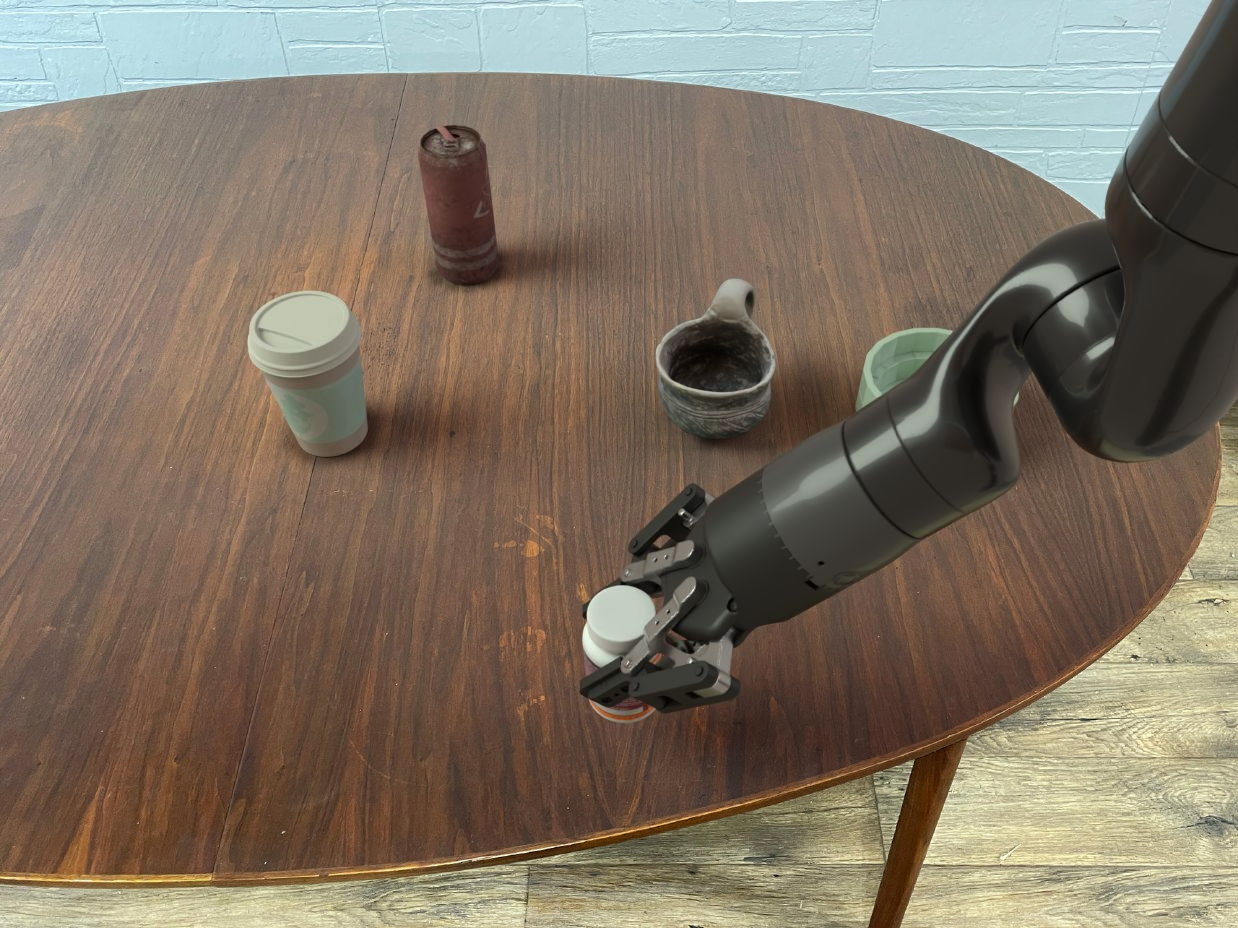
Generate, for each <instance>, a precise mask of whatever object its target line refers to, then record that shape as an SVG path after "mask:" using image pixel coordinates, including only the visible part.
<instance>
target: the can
mask: <svg viewBox="0 0 1238 928" xmlns="http://www.w3.org/2000/svg"><path fill="white" fill-rule="evenodd" d="M417 158H418V165H419V170H420V171H419V172H420V176H421V182H422V183H421V184H422V188H423V195H424V200H425V207H426V212H427V219H428V223H429V230H430V236H431V241H432V248H433V253H434V260H435V265H436V269H437V271H438V273H439V275H440V276H442V278H444V279H445V280H447V282H450V283H452V284H455V285H461V286H462V285H463V286H468V285H477V284H481V283H483V282H485V281H486V280H488V279H490V278H491V277H492V276H493V275H494V274H495V272H496V271H497V269H498V267H499V265H500V258H499V249H498V241H497V231H496V224H495V215H494V214H495V213H494V206H493V197H492V187H491V179H490V178H491V177H490V170H489V161H488V154H487V144H486V143H485V142H484V139H483V138H482V136H481V134H480V132H479V131H477V130H476V129H474V128H473V127H470V126H468V125H467V126H466V125H460V124H451V125H450V124H446V125H442V124H440V125H437V126H435V127H434V128H433V129H430V130H428V131H427V132H425V133H424V134H423V135H422V137H420V140H419V145H418V147H417Z"/></svg>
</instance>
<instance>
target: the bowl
mask: <svg viewBox="0 0 1238 928" xmlns="http://www.w3.org/2000/svg"><path fill="white" fill-rule="evenodd" d="M953 331H954V330H951V329H945V328H941V327H912V328H909V329H904V330H900V331H896V332H893V333H891V334H888V335H887V336H885V337H884V338H882V339H880V340H878V341H876V343H875V344H874V345H873V346H872V347H871V349H870V350H869V351H868V352H867V354H866V356H865V360H864V364H863V367H862V373H861V378H860V381H859V387H858V391H857V397H856V400H855V406H854V409H855V412H857V411H858V410H860V409H861V408H863V407H864V406H866V405H867V404H869V403H870V402H872V401H873V400H875V399H876V398H878V397H879V396H881V395H882V394H884V393H885V392H887V391H889V390H890V389H892V388H893V387H895V386H896V385H898V384H900V383H901V382H903V381H905V380H906V379H907V378H909V377H910V376H911V375H912V374H913V373H914V372H916V371H917V370H918V369H919V367H920V366H921V365H922V364H923V363H924V362H925V361H926V360H927V359H928V358H929V357H930V356H931V355H932V354H933V352H934V351H935V350H936V349H937V348H938V347H939V346H940V345H941V344H942V343H943V342H944V341H945V340H946V338H947V337H948V336H949V335H950V334H951V333H952V332H953ZM1019 397H1020V391H1019V392H1018V393H1017V395H1016V397H1015V400H1014V408H1013V414H1014V413H1015V409H1016V407H1017V404H1018V401H1019Z"/></svg>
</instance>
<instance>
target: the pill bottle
mask: <svg viewBox="0 0 1238 928" xmlns="http://www.w3.org/2000/svg"><path fill="white" fill-rule="evenodd" d="M653 600H654V599H652V598H650V596H649V595H648V594H646V593H645V592H644V591H642V590H640V589H638V588H635V587H631V586H623V585H622V586H613V587H609V588H607V589H604V590H602V591H601V592H599V593H598V594H597V595H596V596H595V597H594V598H593V599H592V600H591V602H590V604H589V606H588V609H587V620H586V623H585V625H584V627H583V630H582V651H583V658H584V660H583V661H584V673H585V677H586V676H588V675H590V674H591V673H593V672H595V671H596V670H598V669H600V668H601V667H603V666H605V665H606V664H608V663H610V662H612V661H613V660H615V659H617V658H618V657H620V656H621V657H623V658H624V657H625V656H626V655H627V654H628V653H629V652H630V651H631V650H632V649H633V648H634V647H635V646H636V645H637V644H638V643H639V642H640V641H641V640H642V639H643V637H644V632H643V629H644V627H645V625H646V624H647V623H648V622H649V621H650V620H651V619H652V618H653V617H654V616H655V615H656V614H657V613H658V611H657V606H656V604H655V602H654V601H653ZM663 656H664V655H663V654H660V653H659V654H656V655H655V656H653V658H652V659H651V660H650V661H649V662H651V663H653V664H656V663H657V662H658V661H659V660H660V659H661V658H662V657H663ZM588 700H589V703H590V706H591V707H592V708H593V709H594V711H595V712H596V713H597V714H598V715H599V716H600V717H602V718H603V719H606V720H608V721H609V722H614V723H619V724H633V723H636V722H640V721H642V720H644V719H646V718H647V717H649V716H650V715H652V714H653V712H655V711H656V709H655V708H654V707H652V706H650V705H648V704H646V703H644V702H642V701H640V700H636V699H634V698H632V697H630V698H628V699H626V700H623V701H622V702H621V703H618V704H617V705H615V706H613V707H608V708H606V707H604V706H602V705H600V704H598V703H596V702H594V701H592V700H590V699H588Z"/></svg>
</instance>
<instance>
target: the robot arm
mask: <svg viewBox="0 0 1238 928" xmlns="http://www.w3.org/2000/svg"><path fill="white" fill-rule="evenodd" d="M1116 166H1117V167H1115V169H1114V173H1113V175H1112V177H1111V179H1110V181H1109V184H1108V187H1107V190H1106V195H1105V200H1104V217H1103V218H1095V219H1091V220H1086V221H1082V222H1078V223H1076V224H1073V225H1070V226H1067V227H1065V228H1062V229H1060V230H1058V231H1056V232H1053V233H1052V234H1051V235H1049V236H1047V237H1045V238H1044V239H1042V240H1040V241H1039V242H1037V243H1036V244H1035V245H1034V246H1032V247H1031V248H1030V249H1028V250H1027V251H1026V252H1025V253H1024V254H1022V256H1020V257H1019V258H1018V259H1017V260H1016V261H1015V262H1014V263H1013V264H1012V265H1011V266H1010V267H1009V268H1008V269H1007V270H1006V271H1005V272H1004V273H1003V274H1002V275H1001V277H999V279H998V280H997V281H996V282H995V283H994V284H993V286H992V287H991V288H990V289H989V290H988V291H987V292H986V294H985V295H984V296H983V297H982V298H981V299H980V301H979V302H978V303H977V304H976V305H975V306H974V308H973V309H971V311H970V312H969V313H968V314H967V315H966V316H965V318H964V319H963V320H961V322H960V323H959V324H958V325H957V326H956V328H955V329H954V330H952V331H953V332H952V333H951V334H950V335H949V336H948V337H947V338H946V340H945V341H944V342H943V343H942V344H941V345H940V346H939V347H938V348H937V349H936V350H935V351H934V352H933V354H932V355H931V356H930V357H929V358H928V359H927V360H926V361H925V362H924V363H923V364H922V365H921V366H920V367H919V369H918V370H917V371H916V372H914V373H913V374H912V375H911V376H910V377H909V378H907V379H906V380H905V381H903V382H901V383H900V384H898V385H896V386H895V387H893V388H892V389H890V390H889V391H887V392H885V393H884V394H882V395H881V396H879V397H878V398H876V399H875V400H873V401H872V402H870V403H869V404H867V405H866V406H864V407H863V408H861V409H860V410H858V411H857V412H856V411H855V412H853V413H852V414H851V415H849V416H848V417H845V418H844V419H842V420H841V421H839V422H837V423H835V424H833V425H831V426H829V427H827V428H825V429H822V430H820V431H818V432H816V433H814V434H812V435H810V436H809V437H807V438H804V440H802V441H800V442H799V443H797V444H796V445H794V446H792V447H791V448H790V449H787V451H785V452H784V453H781V455H779V456H778V457H776V458H775V459H773V460H772V461H770V462H769V463H767V464H766V465H764V466H762V467H761V468H759V469H758V470H756V471H755V472H753V473H752V474H750V475H749V476H747V477H746V478H744V479H743V480H741V481H739V482H738V483H736V484H735V485H734V486H732V487H730V488H729V489H728V490H726V491H724V492H723V493H721V494H720V495H718V496H717V497H715V496H714V495H712V494H711V493H710V492H708V491H706V490H705V489H704V488H702V487H701V486H699V485H698V484H696V483H694V482H692V483H689V484H688V485H686V486H685V487H684V488H683V489H682V490H681V491H680V492H679V493H678V494H677V495H676V496H675V497H674V498H673V499H672V500H671V501H669V503H667V505H666V506H664V508H662V510H660V511H659V512H658V513H657V515H656V516H654V517H653V518H652V519H651V520H650V521H649V522H648V523H647V524H646V525H645V526H644V527H643V528H642V529H641V530H640V531H638V533H636V535H634V536H633V538H631V540H630V542H629V543H628V546H627V551H628V553H629V554H631V555H632V558H631V561H630V563H628V564H626V565H625V567H623V569H622V570H621V573H620V576H619V577H618V578H616V579H615V580H612V582H610V583H609V584H607V585H605V586H604V587H602V588H600V590H598V591H596V592H595V593H594V595H593V596H591V598H590V599H589V600H588V601H586V602H584V603H583V604H582V613H581V614H582V615H581V617H582V618H583V619H584V620H585V621H587V609H588V606H589V604H590V602H591V600H592V599H593V598H594V597H595V596H596V595H597V594H598V593H599V592H601V591H602V590H604V589H607V588H609V587H613V586H622V585H623V586H631V587H635V588H638V589H640V590H642V591H644V592H645V593H646V594H648V595H649V596H650V598H651V599H652V600H655V599H658V598H659V599H660V598H663V602H662V608H661V609H660V610H659V611H657V614H656V615H655V616H654V617H653V618H652V619H651V620H650V621H649V622H648V623H647V624H646V625H645V627H644V629H643V632H644V637H643V639H642V640H641V641H640V642H639V643H638V644H637V645H636V646H635V647H634V648H633V649H632V650H631V651H630V652H629V653H628V654H627V655H626V656H625V657H624V658H623V657H621V656H620V657H618V658H617V659H615V660H613V661H612V662H610V663H608V664H606V665H605V666H603V667H601V668H600V669H598V670H596V671H595V672H593V673H591V674H590V675H588V676H586V675H585V677H583V678H581V679H580V681H579V694H580V695H581V696H582V697H584V698H586V699H588V700H589V699H590V700H592V701H594V702H596V703H598V704H600V705H602V706H604V707H606V708H608V707H613V706H615V705H617V704H618V703H621V702H622V701H623V700H626V699H628V698H630V697H632V698H634V699H636V700H640V701H642V702H644V703H646V704H648V705H650V706H652V707H654V708H655V711H657V712H659V713H661V714H670V713H675V712H681V711H685V710H690V709H695V708H699V707H704V706H709V705H713V704H720V703H724V702H728V701H729V702H730V701H733V700H734V699H736V698H737V696H738V695H739V694H740V691H741V681H740V680H739V679H738V678H736V677H734V676H733V675H731V669H732V660H733V653H734V649H735V648H737V647H739V646H741V644H742V643H744V642H745V640H746V639H747V638H748V636H749V635H750V634H751V633H752V632H753V631H755V629H757V628H759V627H762V626H766V625H772V624H773V625H774V624H779V623H784V622H788V621H790V620H791V619H793V618H795V617H797V616H798V615H800V614H802V613H804V612H806V611H808V610H810V609H812V608H813V607H816V606H817V605H819V604H821V603H822V602H824V601H826V600H828V599H830V598H831V597H833V596H835V595H837V594H839V593H841V592H843V591H844V590H846V589H848V588H850V587H851V586H854V585H855V584H857V583H859V582H861V581H862V580H864V579H866V578H868V577H869V576H871V575H873V574H874V573H877V572H879V571H880V570H882V569H884V568H886V567H887V566H889V565H890V564H892V563H894V562H896V561H897V560H898V559H899V558H900V557H902V556H903V555H904V554H906V553H907V552H908V551H909V550H911V549H912V548H914V547H915V546H916V545H918V544H920V543H921V542H922V541H924V540H926V539H927V538H928V537H929V538H930V537H931V536H932V535H934V534H936V533H938V532H940V531H942V530H944V529H945V528H947V527H949V526H950V525H953V524H954V523H956V522H958V521H960V520H961V519H963V518H965V517H967V516H969V515H970V514H973V513H974V512H976V511H979V510H980V509H982V508H984V507H986V506H987V505H989V504H991V503H992V502H994V501H996V500H997V499H1000V498H1001V497H1002V496H1004V495H1006V493H1008V492H1009V491H1011V489H1013V488H1014V486H1015V485H1016V484H1017V483H1018V481H1019V479H1020V477H1021V476H1020V475H1021V473H1022V465H1023V464H1022V463H1023V461H1022V454H1021V449H1020V444H1019V439H1018V434H1017V429H1016V425H1015V418H1014V413H1013V408H1014V400H1015V397H1016V395H1017V393H1018V392H1019V393H1020V391H1021V389H1022V387H1023V385H1024V384H1025V383H1026V381H1027V379H1028V378H1029V377H1030V375H1031V374H1033V376H1034V377H1035V379H1036V381H1037V383H1038V384H1039V386H1040V388H1041V390H1042V391H1043V393H1044V395H1045V397H1046V399H1047V400H1048V402H1049V405H1050V406H1051V409H1052V410H1053V412H1054V414H1055V416H1056V418H1057V419H1058V421H1059V423H1060V425H1061V427H1062V428H1063V430H1064V431H1065V433H1066V434H1067V435H1068V437H1070V438H1071V440H1072V441H1073V442H1074V443H1075V444H1076V445H1077V446H1078V447H1079V448H1081V450H1082V451H1085V452H1086V453H1087V454H1090V455H1092V456H1094V457H1096V458H1099V459H1101V460H1105V461H1108V462H1114V463H1120V464H1134V463H1137V464H1138V463H1146V462H1152V461H1155V460H1159V459H1162V458H1165V457H1168V456H1170V455H1173V454H1175V453H1177V452H1179V451H1181V450H1183V449H1185V448H1186V447H1188V446H1190V445H1192V444H1193V443H1195V442H1196V441H1197V440H1199V439H1200V438H1202V437H1203V436H1205V435H1206V434H1207V433H1208V432H1209V431H1210V430H1211V429H1212V428H1214V427H1215V425H1217V424H1218V422H1220V421H1221V420H1222V419H1223V418H1224V417H1225V415H1226V414H1227V413H1228V412H1229V411H1230V409H1231V408H1232V406H1233V405H1234V404H1235V403H1236V401H1238V0H1210V3H1209V4H1208V6H1207V7H1206V10H1205V12H1204V13H1203V16H1202V17H1201V19H1200V21H1199V22H1198V24H1197V25H1196V27H1195V29H1194V31H1193V33H1192V35H1191V36H1190V38H1189V40H1188V41H1187V44H1186V45H1185V46H1184V48H1183V50H1182V52H1181V54H1180V55H1179V57H1178V59H1177V61H1176V63H1175V64H1174V66H1173V68H1172V69H1171V71H1170V72H1169V74H1168V75H1167V78H1166V79H1165V82H1164V83H1163V85H1162V86H1161V88H1160V90H1159V91H1158V93H1157V95H1156V96H1155V99H1154V101H1153V102H1152V104H1151V105H1150V107H1149V109H1148V110H1147V112H1146V114H1145V116H1144V118H1143V120H1142V121H1141V123H1140V125H1139V127H1138V128H1137V130H1136V131H1135V134H1134V135H1133V137H1132V139H1131V141H1130V143H1129V144H1128V146H1127V148H1126V149H1125V151H1124V153H1123V155H1122V156H1121V158H1120V160H1119V162H1118V164H1117V165H1116ZM662 536H667V537H669V539H668V540H667V541H666V542H665V543H664V544H662V545H661V546H658V545H656V544H655V542H657V541H658V539H660V538H661V537H662ZM671 631H672V632H674V633H675V634H677V635H679V636H680V637H682V638H683V639H681V638H678V637H676V636H675V635H673V634H672V633H669V632H671ZM659 653H660V654H663V657H662V658H661V659H660V660H659V661H658V662H657V663H656V664H653V663H651V662H649V661H650V660H651V659H652V658H653V656H655V655H656V654H659Z"/></svg>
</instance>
